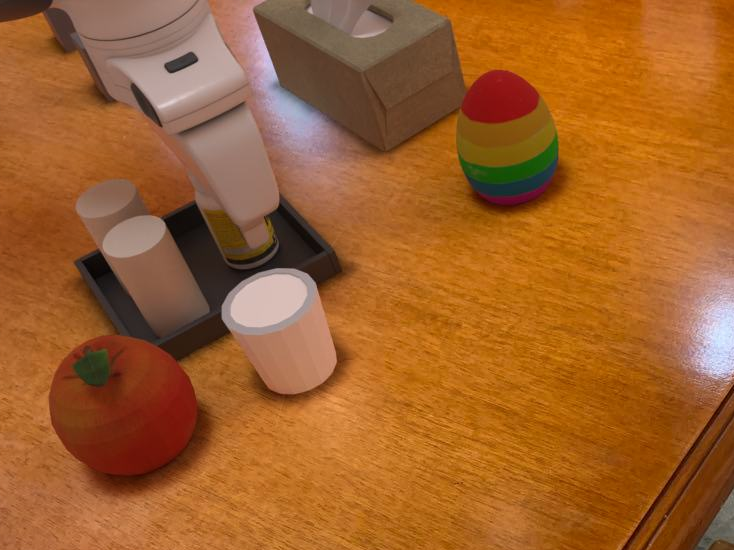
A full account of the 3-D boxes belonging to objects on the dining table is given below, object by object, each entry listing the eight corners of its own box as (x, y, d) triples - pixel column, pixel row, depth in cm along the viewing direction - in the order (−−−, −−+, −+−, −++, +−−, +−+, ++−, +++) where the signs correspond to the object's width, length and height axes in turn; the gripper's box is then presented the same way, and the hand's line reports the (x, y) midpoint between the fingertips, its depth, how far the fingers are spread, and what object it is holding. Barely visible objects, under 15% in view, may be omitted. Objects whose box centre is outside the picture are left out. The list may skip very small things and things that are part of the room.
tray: (150, 381, 79) (135, 357, 76) (88, 285, 87) (72, 261, 85) (344, 276, 83) (334, 250, 80) (267, 194, 91) (256, 168, 89)
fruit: (194, 378, 78) (133, 274, 70) (232, 457, 73) (170, 354, 65) (75, 434, 76) (-2, 334, 68) (104, 519, 71) (24, 421, 63)
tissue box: (472, 105, 94) (432, -78, 82) (387, 157, 91) (333, -25, 79) (359, 43, 104) (307, -129, 92) (279, 88, 101) (215, -84, 89)
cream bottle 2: (164, 348, 80) (114, 266, 73) (142, 317, 82) (93, 235, 76) (219, 318, 81) (175, 235, 74) (196, 289, 83) (152, 206, 77)
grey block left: (69, 56, 112) (40, 1, 107) (58, 43, 114) (29, -12, 109) (103, 40, 113) (75, -15, 108) (91, 28, 115) (64, -27, 110)
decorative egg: (491, 230, 83) (465, 118, 75) (453, 181, 88) (425, 70, 80) (580, 192, 84) (565, 78, 76) (538, 145, 89) (519, 33, 81)
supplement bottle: (290, 250, 85) (252, 160, 78) (242, 279, 83) (199, 190, 77) (262, 226, 87) (223, 137, 80) (214, 254, 86) (171, 166, 79)
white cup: (239, 377, 77) (201, 307, 72) (310, 326, 80) (279, 253, 74) (292, 419, 74) (256, 348, 68) (365, 364, 76) (336, 291, 70)
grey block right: (111, 105, 104) (81, 48, 99) (99, 90, 106) (69, 34, 102) (147, 89, 105) (119, 31, 100) (134, 74, 107) (106, 17, 103)
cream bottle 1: (136, 307, 83) (86, 226, 77) (116, 279, 86) (67, 198, 79) (189, 279, 84) (144, 197, 78) (168, 252, 87) (123, 170, 81)
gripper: (69, 14, 76) (152, 175, 87) (168, 125, 65) (249, 294, 76) (146, -20, 78) (218, 143, 89) (256, 83, 66) (323, 255, 77)
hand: (233, 214), depth 82 cm, fingers open, 8 cm apart
